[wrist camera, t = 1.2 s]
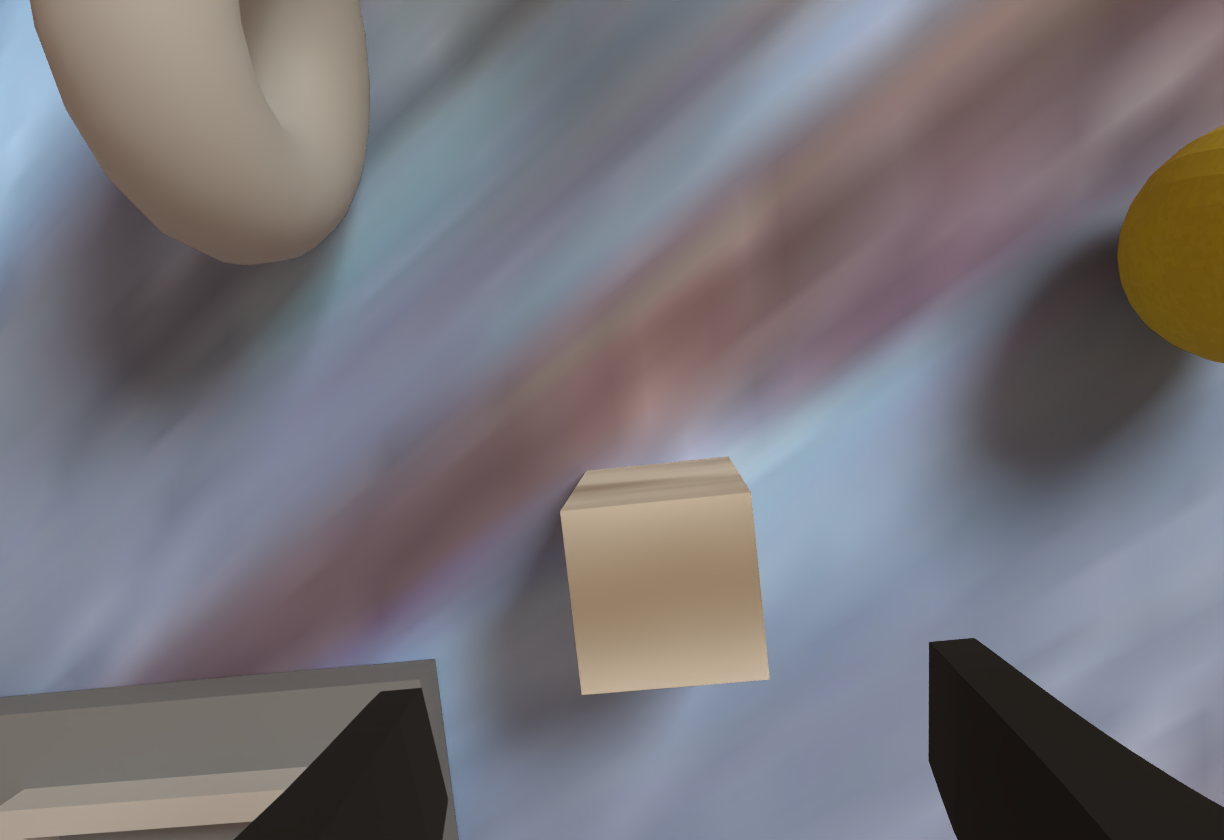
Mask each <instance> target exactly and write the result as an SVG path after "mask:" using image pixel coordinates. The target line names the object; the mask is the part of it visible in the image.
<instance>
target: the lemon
mask: <svg viewBox="0 0 1224 840" xmlns="http://www.w3.org/2000/svg"><path fill="white" fill-rule="evenodd" d="M1117 259H1118V266H1119V273H1120V281H1121V284H1122V286H1123V288H1124V291H1125V293H1126V296H1127V298H1128V300H1129V303H1130V305H1131V306H1132V307H1133V309H1134V310H1135V311H1136V313H1137V314H1138V315H1139V316H1140V318H1141V319H1142V320H1143V322H1144V323H1145V324H1146V325H1147V326H1148V327H1149V328H1150V329H1152V330H1153V331H1154V332H1156V333H1157V334H1159V335H1160V336H1161V337H1163V338H1164V339H1165V340H1167V341H1168V342H1169V343H1171V344H1172V345H1174V346H1176V347H1178V348H1181V349H1183V350H1186V351H1188V352H1190V353H1193V354H1195V355H1198V356H1200V357H1203V358H1205V359H1208V360H1212V361H1215V362H1220V363H1224V125H1223V126H1221V127H1219V128H1217V129H1215V130H1213V131H1211V132H1209V133H1207V134H1205V135H1203V136H1201V137H1200V138H1198V139H1196V140H1194V141H1192V142H1191V143H1189V144H1187V145H1186V146H1185V147H1183V148H1182V149H1181V150H1179V151H1178V152H1177V153H1176V154H1175V155H1174V156H1172V157H1171V158H1170V159H1169V160H1168V161H1167V162H1166V163H1164V164H1163V165H1162V166H1161V167H1160V168H1159V169H1158V170H1156V171H1155V172H1154V173H1153V174H1152V175H1151V176H1150V178H1149V179H1148V180H1147V182H1146V183H1145V185H1144V186H1143V188H1142V189H1141V190H1140V192H1139V193H1138V195H1137V196H1136V197H1135V199H1134V200H1133V202H1132V204H1131V205H1130V208H1129V210H1128V213H1127V215H1126V218H1125V220H1124V223H1123V225H1122V228H1121V230H1120V237H1119V245H1118V253H1117Z"/></svg>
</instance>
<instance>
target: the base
mask: <svg viewBox="0 0 1224 840" xmlns="http://www.w3.org/2000/svg"><path fill="white" fill-rule="evenodd" d="M412 688H422V691H423V695H424V699H425V704H426V708H427V712H428V716H429V720H430V725H431V729H432V733H433V737H434V741H435V746H436V750H437V754H438V758H439V762H440V767H441V771H442V775H443V779H444V783H445V788H446V792H447V796H448V806H447V813H446V819H445V826H444V833H443V839H442V840H459V839H458V831H457V824H456V816H455V809H454V801H453V793H452V786H451V778H450V770H449V763H448V755H447V748H446V740H445V732H444V725H443V717H442V709H441V702H440V694H439V687H438V679H437V671H436V664H435V659H429V660H418V661H407V662H395V663H384V664H373V665H361V666H350V667H338V668H327V669H316V670H304V671H293V672H281V673H270V674H259V675H247V676H236V677H225V678H213V679H202V680H190V681H179V682H168V683H156V684H145V685H133V686H122V687H111V688H99V689H88V690H76V691H65V692H54V693H42V694H31V695H20V696H8V697H0V840H234V839H235V838H236V837H237V836H238V835H239V834H240V833H241V832H242V831H243V830H244V829H245V828H246V827H247V826H248V825H249V824H250V823H251V822H253V821H254V820H255V819H256V818H257V817H258V816H259V815H260V814H261V813H262V812H263V811H264V810H265V809H266V808H267V807H268V806H269V805H270V804H271V803H273V802H274V801H275V800H276V799H277V798H278V797H279V796H280V795H281V794H282V793H283V792H284V791H285V790H286V789H287V788H288V787H289V786H290V785H291V784H292V783H293V782H294V781H295V780H296V779H297V778H298V777H299V776H300V775H301V774H302V773H303V771H304V770H305V769H306V768H307V767H308V766H309V765H310V764H311V763H312V762H313V761H314V760H315V759H316V758H317V757H318V756H319V755H320V754H321V753H322V752H323V751H324V750H325V749H326V748H327V747H328V746H329V745H330V744H331V742H332V741H333V740H334V739H335V738H336V737H337V736H338V735H339V734H340V733H341V732H342V731H343V730H344V729H345V728H346V727H347V725H348V724H349V723H350V722H351V721H352V720H353V719H354V718H355V717H356V716H357V715H358V714H359V713H360V712H361V711H362V710H363V709H364V708H365V707H366V705H367V704H368V703H369V702H370V701H371V700H372V699H373V698H374V697H375V696H377V695H378V694H379V693H380V692H381V691H390V690H401V689H412Z"/></svg>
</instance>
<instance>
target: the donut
mask: <svg viewBox="0 0 1224 840" xmlns="http://www.w3.org/2000/svg"><path fill="white" fill-rule="evenodd" d="M30 3H31V9H32V15H33V20H34V26H35V29H36V31H37V34H38V37H39V39H40V42H41V45H42V47H43V50H44V53H45V55H46V58H47V61H48V63H49V66H50V69H51V71H52V74H53V77H54V79H55V82H56V85H57V87H58V90H59V92H60V95H61V98H62V100H63V103H64V106H65V108H66V110H67V112H68V114H69V115H70V117H71V118H72V120H73V122H74V123H75V125H76V127H77V128H78V130H79V132H80V133H81V135H82V137H83V138H84V140H85V141H86V143H87V145H88V146H89V148H90V150H91V151H92V153H93V155H94V156H95V158H96V159H97V161H98V163H99V164H100V166H101V168H102V169H103V171H104V173H105V174H106V175H107V177H108V178H109V179H110V180H111V181H112V182H113V183H114V184H115V185H116V187H117V188H118V189H119V190H120V191H121V192H122V193H123V194H124V195H125V196H126V197H127V198H128V199H129V200H130V201H131V202H132V203H133V204H134V205H135V206H136V207H137V208H138V209H139V210H140V211H141V212H142V213H143V214H144V215H145V216H146V217H147V218H148V219H149V220H150V221H151V222H152V223H153V224H154V225H155V226H156V227H157V228H158V229H159V230H160V231H161V232H162V233H163V234H165V235H167V236H169V237H171V238H173V239H175V240H177V241H179V242H181V243H184V244H186V245H188V246H190V247H192V248H194V249H196V250H198V251H200V252H202V253H204V254H207V255H209V256H211V257H213V258H215V259H217V260H219V261H221V262H224V263H231V264H238V265H245V266H246V265H255V264H263V263H272V262H279V261H285V260H290V259H295V258H299V257H300V256H302V255H304V254H305V253H307V252H309V251H310V250H312V249H314V248H315V247H316V246H317V245H318V244H319V243H320V242H321V241H323V240H324V239H325V238H326V237H327V236H328V235H329V234H330V233H331V232H332V231H333V230H334V229H335V228H336V227H337V226H338V224H339V223H340V222H341V220H342V219H343V218H344V216H345V215H346V214H347V212H348V209H349V207H350V204H351V202H352V199H353V197H354V195H355V192H356V190H357V187H358V185H359V183H360V179H361V174H362V169H363V163H364V157H365V151H366V145H367V139H368V133H369V107H370V81H369V70H368V59H367V48H366V37H365V31H364V25H363V20H362V15H361V10H360V4H359V0H30Z"/></svg>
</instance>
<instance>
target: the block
mask: <svg viewBox="0 0 1224 840" xmlns="http://www.w3.org/2000/svg"><path fill="white" fill-rule="evenodd" d="M560 515H561V523H562V532H563V540H564V549H565V557H566V566H567V574H568V583H569V591H570V600H571V608H572V617H573V625H574V634H575V642H576V651H577V660H578V668H579V677H580V685H581V694H582V695H589V694H601V693H613V692H625V691H637V690H649V689H661V688H673V687H685V686H697V685H709V684H720V683H732V682H744V681H756V680H768V679H769V669H768V659H767V649H766V639H765V629H764V619H763V609H762V599H761V589H760V578H759V568H758V558H757V548H756V538H755V528H754V518H753V508H752V498H751V492H750V490H749V489H748V487H747V485H746V484H745V482H744V481H743V479H742V477H741V476H740V474H739V472H738V471H737V469H736V468H735V466H734V464H733V463H732V461H731V460H730V458H729V456H728V457H718V458H709V459H699V460H689V461H679V462H669V463H660V464H650V465H640V466H630V467H620V468H611V469H601V470H591V471H586V472H585V474H584V475H583V477H582V478H581V480H580V481H579V483H578V484H577V486H576V488H575V489H574V491H573V492H572V494H571V495H570V497H569V498H568V500H567V501H566V503H565V505H564V506H563V508H562V509H561V511H560Z"/></svg>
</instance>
